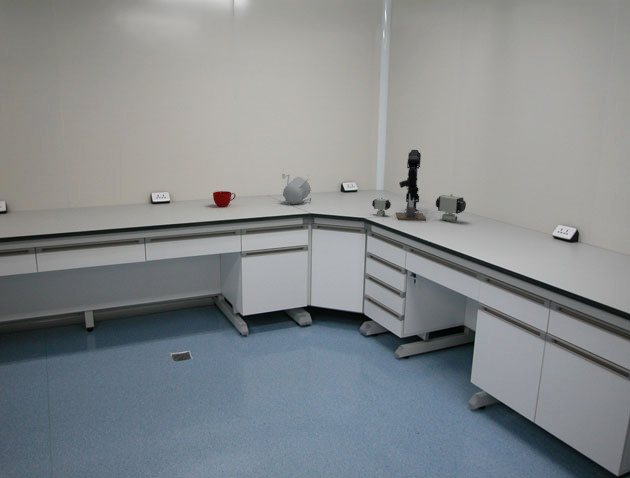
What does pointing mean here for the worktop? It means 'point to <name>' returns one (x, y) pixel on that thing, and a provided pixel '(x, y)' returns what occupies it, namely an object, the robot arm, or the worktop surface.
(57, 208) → the worktop surface
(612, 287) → the worktop surface
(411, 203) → the steel post
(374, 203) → the pneumatic valve
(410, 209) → the post stand
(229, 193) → the ceramic cup
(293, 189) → the satellite
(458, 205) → the ball valve
